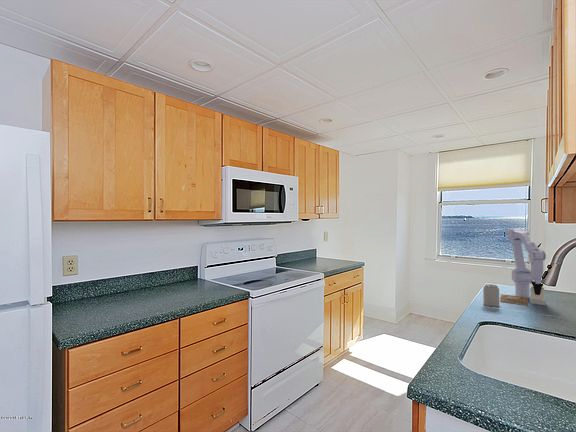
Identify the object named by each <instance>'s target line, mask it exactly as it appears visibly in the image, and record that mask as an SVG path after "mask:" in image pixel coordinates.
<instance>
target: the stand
mask: <svg viewBox="0 0 576 432" xmlns="http://www.w3.org/2000/svg"><path fill="white" fill-rule="evenodd" d="M546 301H547V300H546V299H545V298H544V301H543V300H535V299H531V298H529V304H532V305H540V306H546V304H547V303H546Z"/></svg>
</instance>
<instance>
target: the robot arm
mask: <svg viewBox="0 0 576 432" xmlns="http://www.w3.org/2000/svg"><path fill="white" fill-rule="evenodd" d="M529 232H530V231H529V230H528V229H527V228H511V227H510V228H509V229H508V231H507V238H508V242H510V243H511V247H512V251H513V258H514V263H515V268H513V269H512V270H511V280H512V281H513V282H514V283H515V286H514V287H515V290H514V291H515V293H514V296H521V297H528V299H530V298H531V286H530V285H532V287H534V292H535V295H540V293H541V289H542V288H543V287H544V285H543V284H544V283H543V284H541V283H540V282H542V281H541V278H542V274H543V272H544V261H545V260H546V256H547V255H546V252H545V250H542V249H540V248H539V247H538V246H537V243H535V242H533V241H532V240H531V239H530V237H529V235H530V233H529ZM522 243H523V244H524V250H526V251H527V253H528V259H529V263H530V269H529V268H527V267H526V263H525V262H526V261H525V257H524V250H523V246H522Z"/></svg>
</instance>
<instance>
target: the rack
mask: <svg viewBox="0 0 576 432" xmlns="http://www.w3.org/2000/svg"><path fill="white" fill-rule="evenodd" d="M507 297H515V298H520V300H517V299H509V298H507ZM528 299H529V298H528V297H521V296H515V295H513V294H512V295H510V294H505V293H504V294H503V293H502V294H500V296H499V303H507V304H516V305H524V306H529V300H528Z"/></svg>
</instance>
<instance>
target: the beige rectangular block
mask: <svg viewBox="0 0 576 432" xmlns="http://www.w3.org/2000/svg"><path fill="white" fill-rule="evenodd" d="M530 297H531V299H535V300H543V301H544V299H545V287H542V289H541V293H540V295H535V292H534V287H533V286H530Z"/></svg>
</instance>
